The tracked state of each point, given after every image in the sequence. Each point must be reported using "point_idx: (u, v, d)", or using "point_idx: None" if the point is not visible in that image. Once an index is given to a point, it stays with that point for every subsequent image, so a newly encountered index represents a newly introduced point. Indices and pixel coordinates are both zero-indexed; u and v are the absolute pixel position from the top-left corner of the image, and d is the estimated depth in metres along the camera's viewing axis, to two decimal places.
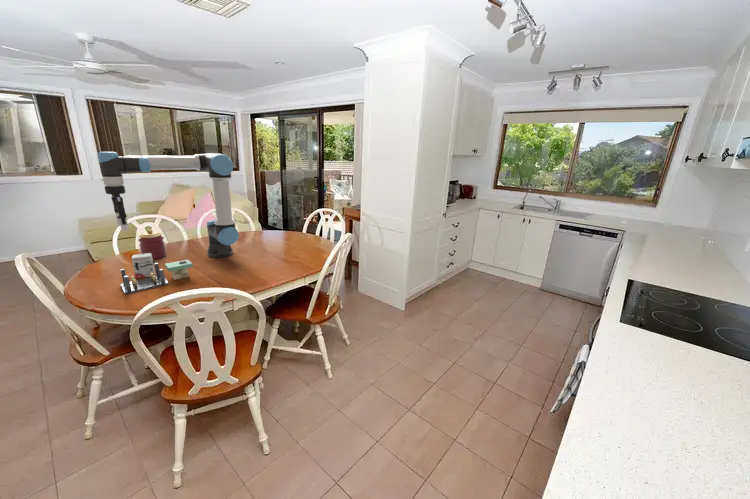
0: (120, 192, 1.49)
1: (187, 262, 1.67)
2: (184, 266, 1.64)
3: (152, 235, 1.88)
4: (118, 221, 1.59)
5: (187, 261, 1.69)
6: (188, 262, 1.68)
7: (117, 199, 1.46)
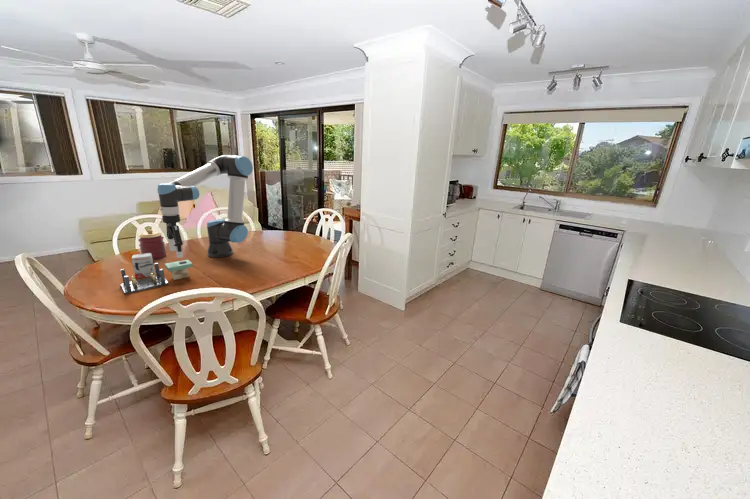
0: (176, 221, 1.57)
1: (187, 262, 1.67)
2: (184, 266, 1.64)
3: (152, 235, 1.88)
4: (170, 247, 1.66)
5: (187, 261, 1.69)
6: (188, 262, 1.68)
7: (174, 228, 1.54)
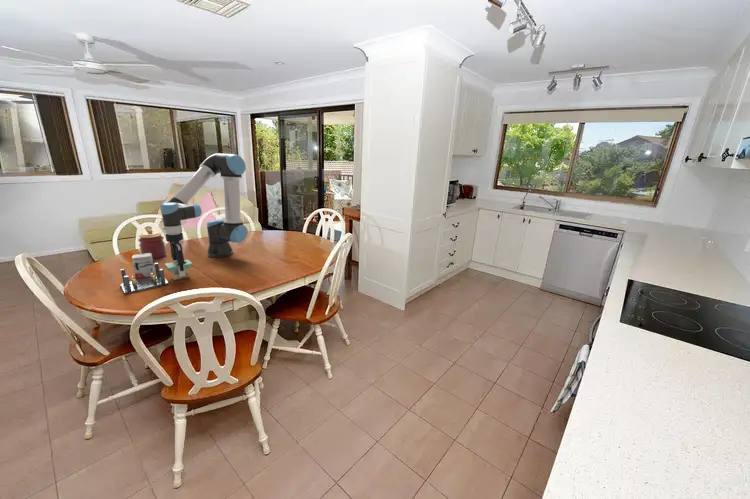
0: (179, 239, 1.60)
1: (187, 262, 1.67)
2: (184, 266, 1.64)
3: (152, 235, 1.88)
4: None
5: (187, 261, 1.69)
6: (188, 262, 1.68)
7: (178, 249, 1.57)
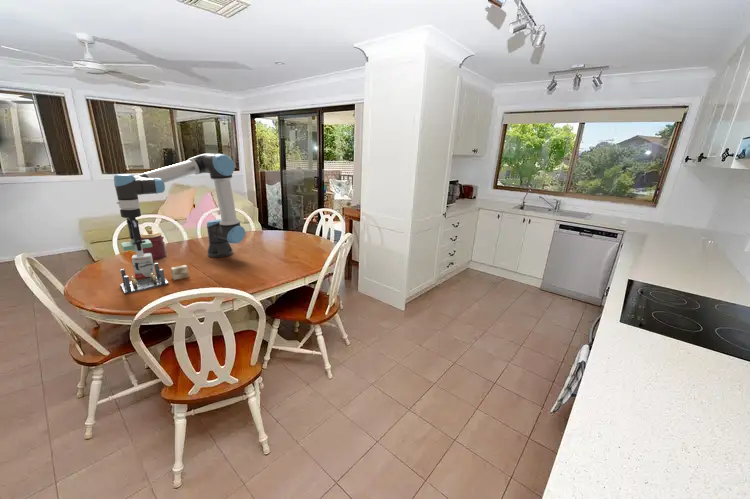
0: (136, 215, 1.44)
1: (146, 241, 1.52)
2: (142, 245, 1.49)
3: (152, 235, 1.88)
4: None
5: (147, 241, 1.53)
6: (147, 242, 1.52)
7: (133, 225, 1.42)
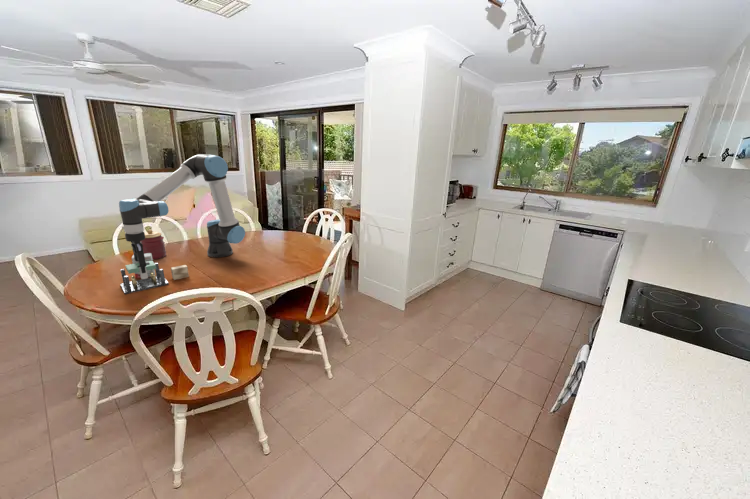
0: (140, 239, 1.48)
1: (150, 263, 1.56)
2: (146, 268, 1.52)
3: (152, 235, 1.88)
4: None
5: (151, 262, 1.57)
6: (151, 263, 1.56)
7: (138, 249, 1.46)
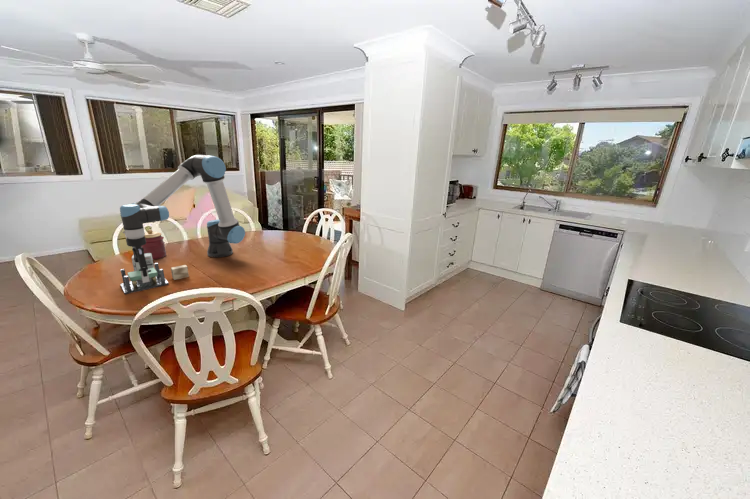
0: (141, 244, 1.49)
1: (152, 271, 1.57)
2: None
3: (152, 235, 1.88)
4: None
5: (152, 269, 1.58)
6: (153, 271, 1.57)
7: (139, 252, 1.46)
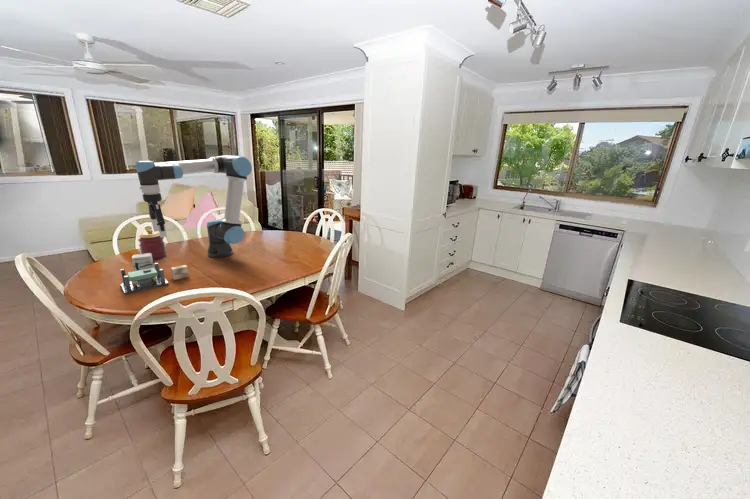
0: (157, 200, 1.54)
1: (152, 271, 1.57)
2: (148, 275, 1.53)
3: (152, 235, 1.88)
4: (154, 227, 1.64)
5: (152, 269, 1.58)
6: (153, 271, 1.57)
7: (156, 207, 1.51)
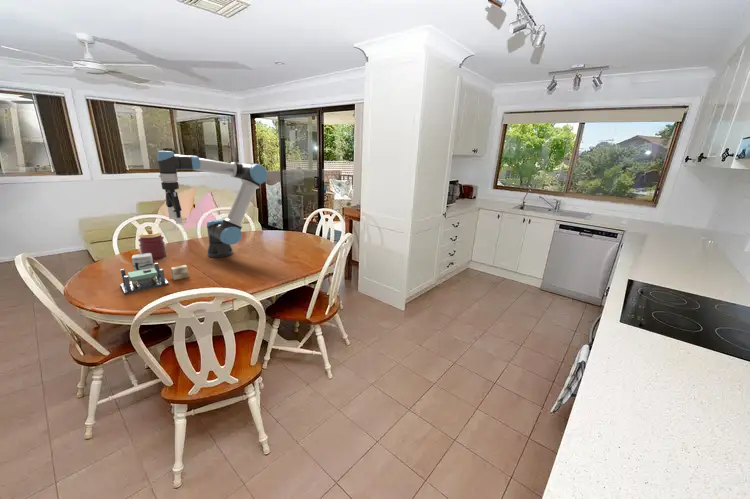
0: (175, 188, 1.62)
1: (152, 271, 1.57)
2: (148, 275, 1.53)
3: (152, 235, 1.88)
4: (170, 215, 1.72)
5: (152, 269, 1.58)
6: (153, 271, 1.57)
7: (173, 194, 1.59)
